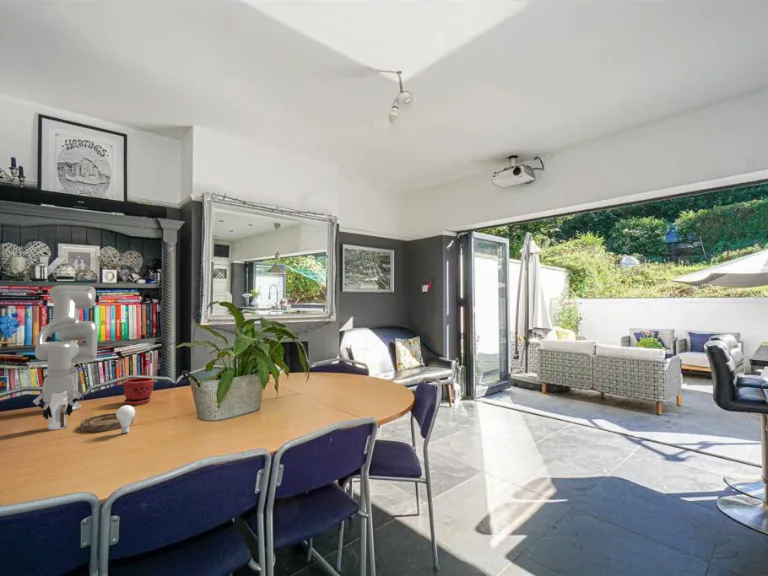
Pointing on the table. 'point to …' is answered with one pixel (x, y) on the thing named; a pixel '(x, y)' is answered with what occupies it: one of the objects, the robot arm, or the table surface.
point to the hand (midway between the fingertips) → (57, 416)
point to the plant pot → (138, 390)
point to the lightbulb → (125, 417)
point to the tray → (101, 423)
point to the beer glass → (58, 411)
